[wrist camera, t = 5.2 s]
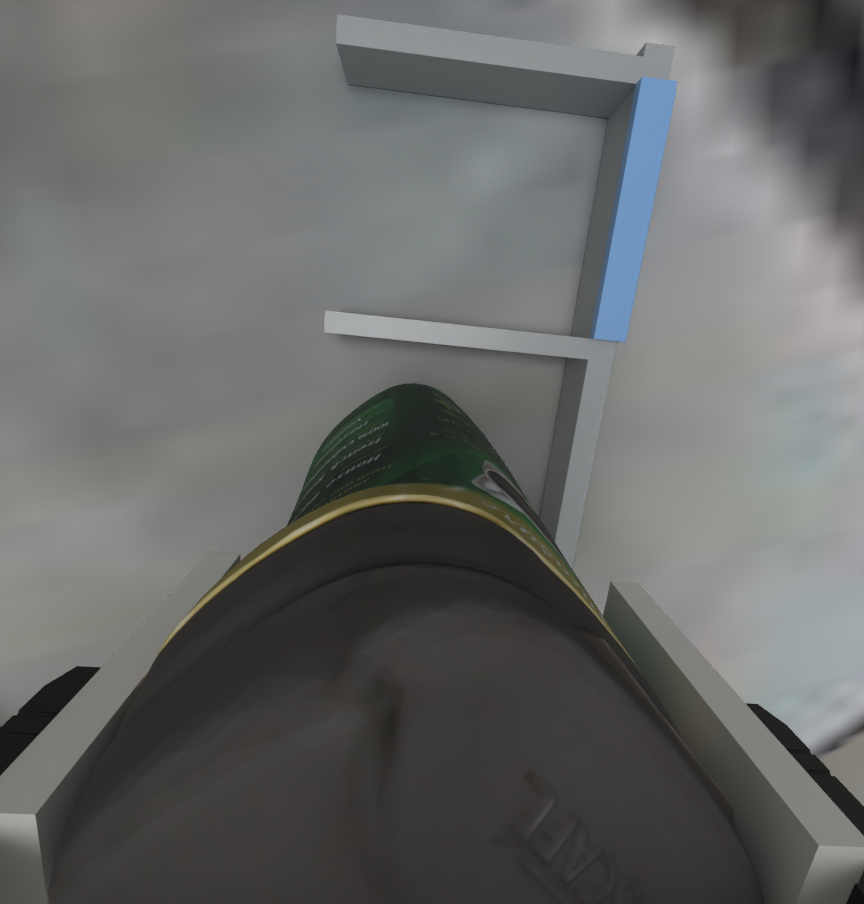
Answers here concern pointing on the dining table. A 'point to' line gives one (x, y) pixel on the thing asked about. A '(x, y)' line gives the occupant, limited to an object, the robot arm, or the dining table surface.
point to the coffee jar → (400, 712)
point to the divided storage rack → (612, 221)
